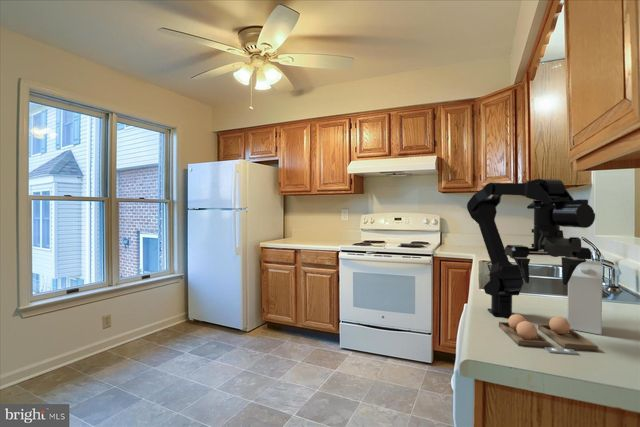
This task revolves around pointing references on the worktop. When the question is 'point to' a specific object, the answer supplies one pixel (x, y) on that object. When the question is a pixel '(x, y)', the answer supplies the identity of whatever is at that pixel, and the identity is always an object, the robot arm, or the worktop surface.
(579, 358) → the worktop surface
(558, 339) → the trough
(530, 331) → the ball
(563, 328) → the ball
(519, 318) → the ball
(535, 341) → the trough
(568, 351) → the card
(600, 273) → the milk carton
